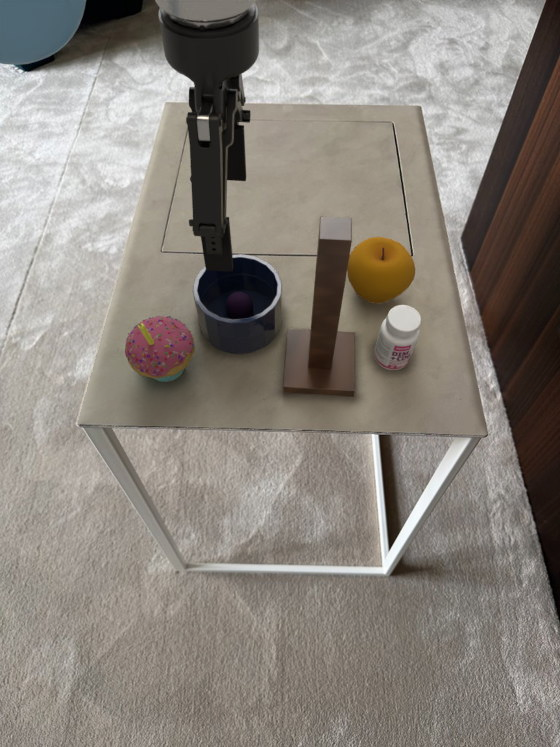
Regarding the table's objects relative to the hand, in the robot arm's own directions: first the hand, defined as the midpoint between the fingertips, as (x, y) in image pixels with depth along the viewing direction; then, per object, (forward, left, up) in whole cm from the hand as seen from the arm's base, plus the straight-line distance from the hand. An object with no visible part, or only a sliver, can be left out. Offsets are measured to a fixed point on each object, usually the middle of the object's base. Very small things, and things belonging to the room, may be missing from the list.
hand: (227, 220), depth 59 cm
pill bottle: (+21, -4, -19) cm, 28 cm away
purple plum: (0, +1, -18) cm, 18 cm away
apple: (+19, +7, -19) cm, 27 cm away
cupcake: (-9, -7, -19) cm, 22 cm away
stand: (+11, -6, -19) cm, 23 cm away
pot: (0, +1, -19) cm, 19 cm away
